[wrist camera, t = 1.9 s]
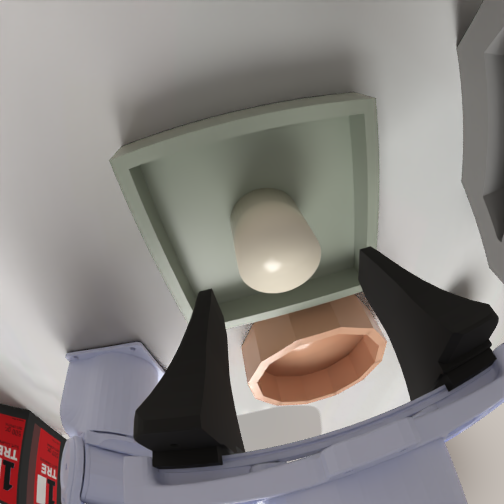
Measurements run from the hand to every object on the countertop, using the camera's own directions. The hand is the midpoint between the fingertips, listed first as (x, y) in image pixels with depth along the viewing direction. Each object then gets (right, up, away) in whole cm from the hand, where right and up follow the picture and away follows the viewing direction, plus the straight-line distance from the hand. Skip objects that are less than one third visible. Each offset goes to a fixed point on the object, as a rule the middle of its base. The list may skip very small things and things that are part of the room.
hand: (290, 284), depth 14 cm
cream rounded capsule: (-1, +4, +5) cm, 6 cm away
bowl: (+4, -7, +15) cm, 17 cm away
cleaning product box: (-44, -32, +24) cm, 60 cm away
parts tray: (-1, +4, +5) cm, 7 cm away
